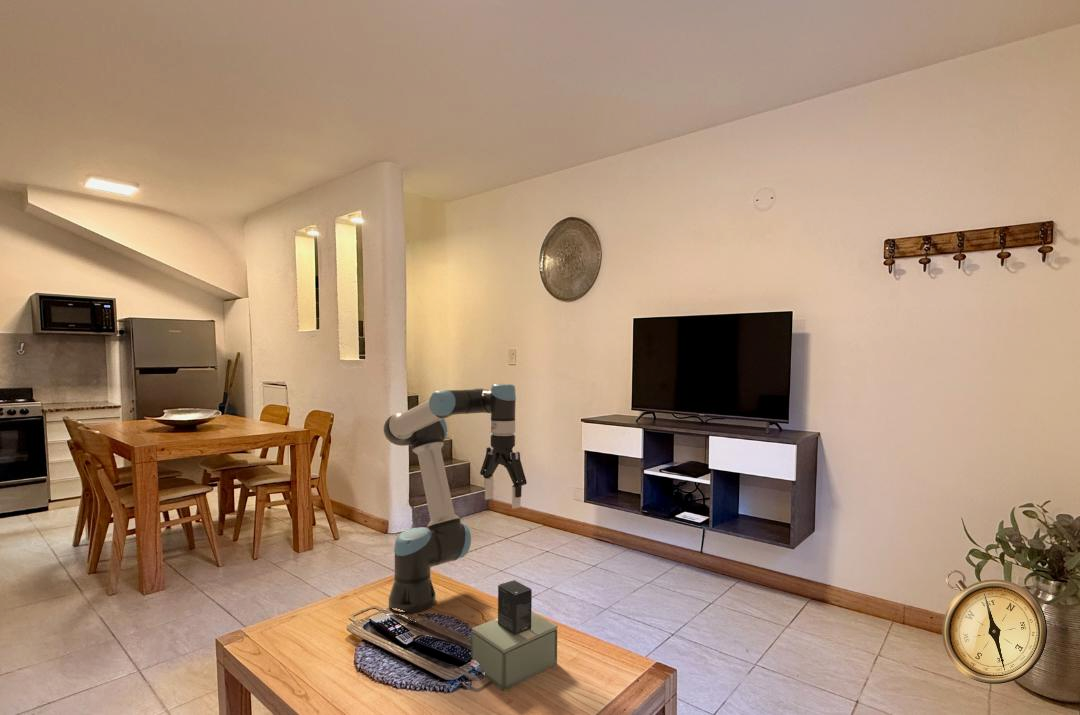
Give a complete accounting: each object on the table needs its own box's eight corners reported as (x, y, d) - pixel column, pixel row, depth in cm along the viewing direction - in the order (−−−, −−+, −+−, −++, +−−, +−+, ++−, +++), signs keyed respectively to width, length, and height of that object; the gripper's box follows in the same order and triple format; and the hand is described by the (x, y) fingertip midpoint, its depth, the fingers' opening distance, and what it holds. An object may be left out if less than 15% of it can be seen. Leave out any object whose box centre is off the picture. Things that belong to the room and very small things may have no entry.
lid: (471, 631, 138) (471, 627, 138) (524, 610, 150) (524, 607, 150) (504, 653, 128) (504, 649, 128) (557, 628, 140) (557, 625, 140)
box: (531, 629, 138) (532, 588, 138) (514, 636, 134) (515, 594, 134) (514, 617, 144) (514, 579, 144) (497, 624, 140) (497, 584, 140)
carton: (470, 665, 138) (471, 632, 138) (523, 642, 150) (523, 611, 150) (503, 690, 128) (503, 654, 128) (556, 663, 140) (557, 630, 140)
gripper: (469, 430, 169) (469, 497, 168) (519, 439, 150) (518, 514, 150) (488, 429, 174) (488, 493, 173) (538, 437, 155) (538, 509, 155)
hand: (502, 503), depth 162 cm, fingers open, 13 cm apart
